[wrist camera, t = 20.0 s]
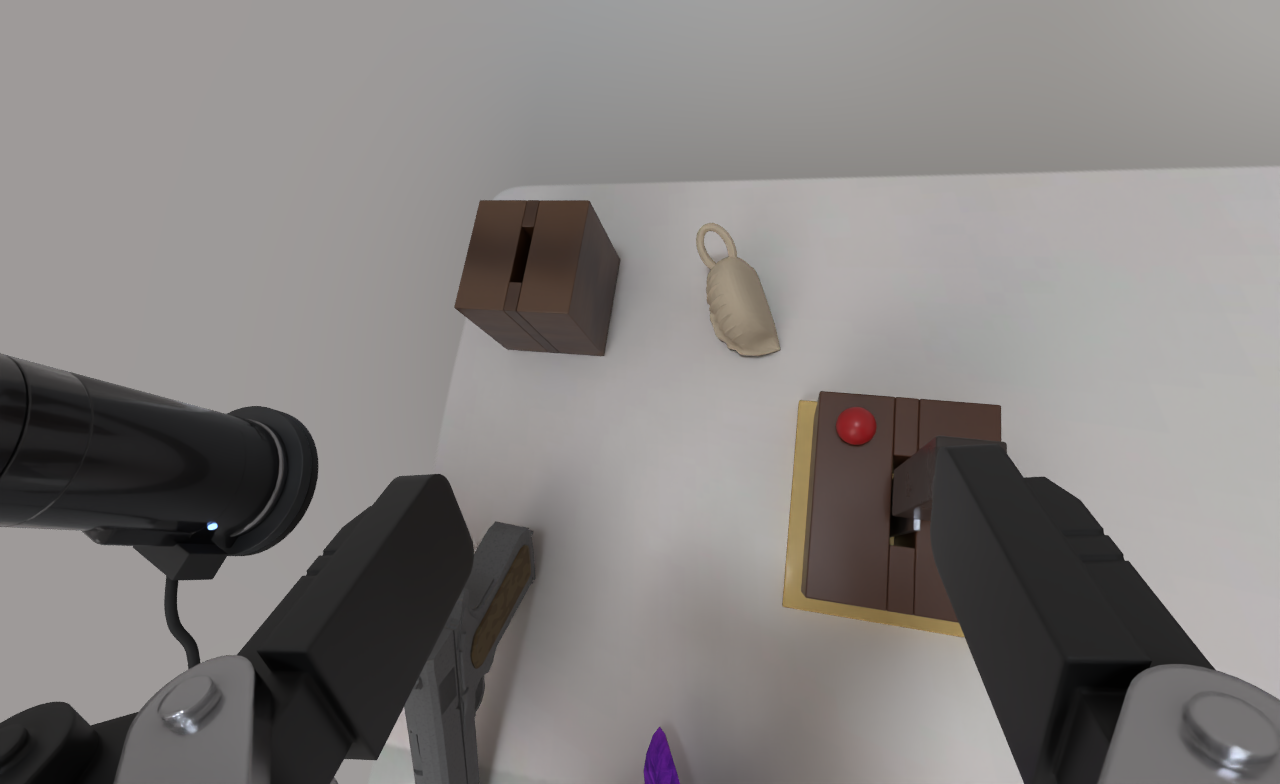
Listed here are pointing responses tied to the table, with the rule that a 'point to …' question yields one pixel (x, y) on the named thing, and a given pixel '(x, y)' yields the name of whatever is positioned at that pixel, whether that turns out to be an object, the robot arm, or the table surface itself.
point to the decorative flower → (659, 761)
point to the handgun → (467, 659)
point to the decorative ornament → (737, 300)
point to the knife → (920, 484)
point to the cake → (868, 508)
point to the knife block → (540, 276)
